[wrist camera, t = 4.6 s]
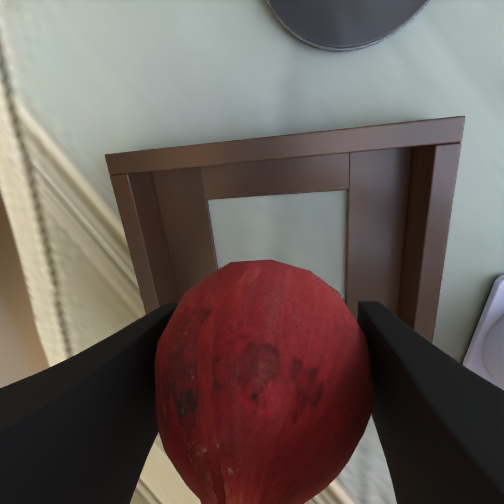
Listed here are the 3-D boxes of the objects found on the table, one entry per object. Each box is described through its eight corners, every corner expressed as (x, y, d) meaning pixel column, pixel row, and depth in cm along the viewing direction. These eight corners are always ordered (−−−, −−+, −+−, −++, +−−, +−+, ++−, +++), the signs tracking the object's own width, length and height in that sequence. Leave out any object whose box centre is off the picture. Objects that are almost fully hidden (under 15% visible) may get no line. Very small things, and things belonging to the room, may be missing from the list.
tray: (435, 119, 14) (466, 115, 11) (409, 354, 19) (426, 388, 16) (133, 152, 17) (103, 154, 14) (178, 348, 22) (162, 377, 19)
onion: (176, 275, 12) (-25, 494, 5) (294, 197, 10) (281, 357, 3) (256, 374, 13) (201, 671, 6) (376, 321, 11) (518, 664, 4)
